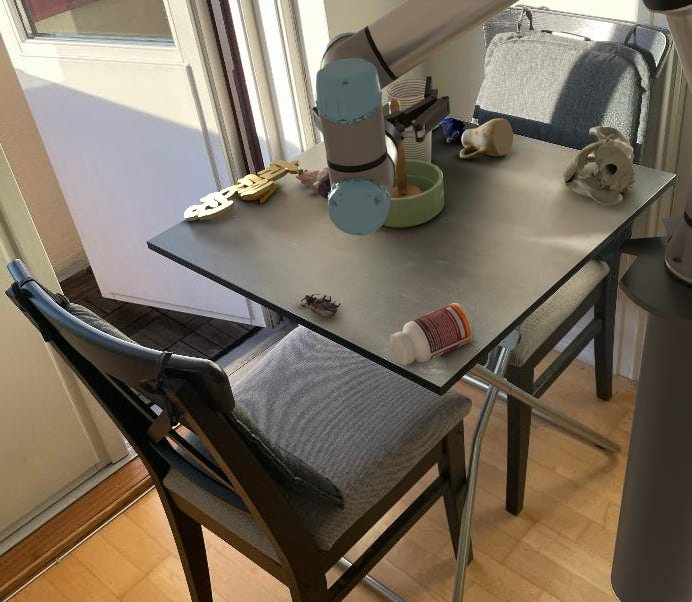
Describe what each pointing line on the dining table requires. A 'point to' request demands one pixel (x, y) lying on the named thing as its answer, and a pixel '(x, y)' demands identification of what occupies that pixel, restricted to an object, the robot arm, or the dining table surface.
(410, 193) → the wooden peg stand
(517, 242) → the dining table surface
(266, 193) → the logo
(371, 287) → the dining table surface
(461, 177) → the dining table surface
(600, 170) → the animal skull
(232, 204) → the lettering
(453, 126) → the spaceship
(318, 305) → the beetle
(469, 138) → the mug
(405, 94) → the cup
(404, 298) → the dining table surface
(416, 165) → the bowl
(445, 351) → the pill bottle
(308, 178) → the figurine
